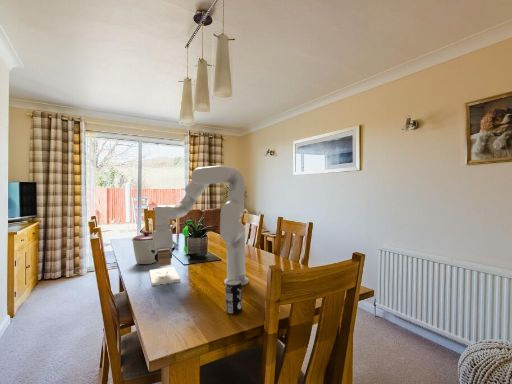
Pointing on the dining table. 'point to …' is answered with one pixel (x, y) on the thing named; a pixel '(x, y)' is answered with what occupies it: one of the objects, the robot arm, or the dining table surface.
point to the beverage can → (233, 296)
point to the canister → (143, 248)
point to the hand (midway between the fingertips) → (163, 260)
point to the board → (164, 276)
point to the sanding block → (164, 257)
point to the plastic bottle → (186, 234)
